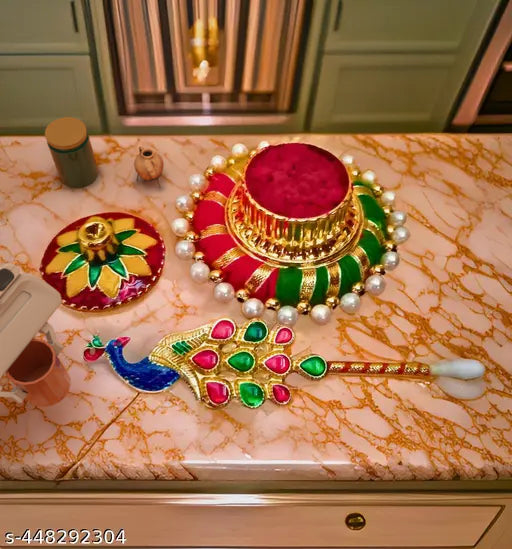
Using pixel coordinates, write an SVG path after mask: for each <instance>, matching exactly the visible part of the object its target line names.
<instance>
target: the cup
mask: <svg viewBox="0 0 512 549" xmlns="http://www.w3.org/2000/svg"><path fill="white" fill-rule="evenodd" d="M5 375H6V377H7V379H9V380H10V382H11V383H12V384H13V385H14V387H16V388H17V387H18V388H19V389H21V390H22V391H23V392H25V393H27V394H28V395H27V396H26V398H25V399H26V400H27V401H28V402H29V403H31V405H33V406H35V407H40V408H48V407H52V406H55V405H57V404H58V403H60V402H61V401H63V400H64V399H65V398H66V396H67V395H68V393H69V392H70V389H71V384H72V381H71V380H72V379H71V376H70V373H69V371H68V369H67V368H66V366H65V365H64V363H63V361H62V359H61V358H60V357H59V355H57V353H56V352H55V350H54V348H53V347H52V346H51V345H50V344H49V343H48V341H47V340H43V339H41V338H33V339H32V340H31V342H30V343H29V344H28V345H27V347H26V348H25V349H24V350H23V351H22V353H21V354H20V355H19V356H18V358H17V359H16V360H15V361H14V363H13V364H12V365H11V366H10V368H9V369H8V370H7V371H6V372H5Z"/></svg>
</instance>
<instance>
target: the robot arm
mask: <svg viewBox="0 0 512 549" xmlns="http://www.w3.org/2000/svg"><path fill="white" fill-rule="evenodd" d="M62 299H63V298H62V295H61V293H60V292H59V291H58V290H57V289H56V288H55V287H53V286H51V285H50V284H49V283H48V282H46V281H45V280H43V279H42V278H40V277H38V276H37V275H35V274H33V273H29V272H23V273H21V270H20V268H19V267H18V266H17V265H16V264H15V263H14V262H5V263H1V264H0V380H1V379H2V378H3V376H4V375H6V371H7V370H8V369H9V368H10V366H11V365H12V364H13V363H14V361H15V360H16V359H17V358H18V356H19V355H20V354H21V353H22V351H23V350H24V349H25V348H26V347H27V345H28V344H29V343H30V342H31V340H32V339H35V337H36V336H37V335H38V333H39V334H41V335H42V334H44V336H45V338H46V342H48V343H49V344H50V345H51V346H52V347H53V348H54V350H55V352H56V353H57V355H58V356H59V355H60V354H61V353H62V351H63V350H64V349H65V345H64V344H62V343H61V342H60V341H58V340H57V336H56V333H55V330H54V326H53V325H52V324H50V323H49V322H48V321H49V319H50V318H51V317H52V316H53V315H54V313H55V312H56V311H57V310H58V308H59V307H60V306H61V305H62V303H63V300H62ZM27 395H28V394H27V393H25V392H23V391H22V390H21V389H19V388H18V387H16V386H13V388H12V389H11V390H10V391H9V390H8V391H6V390H3V386H2V385H0V397H1V398H10V399H11V400H13V401H14V402H15V403H17V404H22V403H23V402H24V401H25V399H26V396H27Z"/></svg>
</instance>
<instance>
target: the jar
mask: <svg viewBox="0 0 512 549" xmlns="http://www.w3.org/2000/svg"><path fill="white" fill-rule="evenodd" d="M44 137H45V139H46V143H47V147H48V149H49V152H50V155H51V158H52V161H53V163H54V166H55V169H56V171H57V174H58V177H59V179H60V181H61V183H62V184H63V185H64V186H66V187H68V188H72V189H81V188H86V187H88V186H90V185H92V184H93V183H95V181H96V180H97V178H98V176H99V173H100V172H99V167H98V163H97V160H96V156H95V153H94V150H93V145H92V142H91V139H90V135H89V132H88V130H87V126H86V125H85V123H84V122H83V121H82V120H80V119H78V118H77V117H72V116H70V117H69V116H64V117H60V118H57V119H55V120H53V121H52V122H50V123H49V124H48V125H47V126H46V128H45V130H44Z"/></svg>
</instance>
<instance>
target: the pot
mask: <svg viewBox="0 0 512 549" xmlns="http://www.w3.org/2000/svg"><path fill="white" fill-rule="evenodd" d="M138 151H139V154H137V155H136V157H135V159H134V161H133V167H134V170H135V173H136V174H137V176H136V182H139V178H140V179H142V180H143V181H144V183H145V182H154V181H157V184H158V187H159V188H161V184H160V181H159V178H161V176H162V174H163V170H164V167H165V165H164V159H163V157H162V156H161V155H160V154H159V153H158V152H156V151H154V150H153V149H151V148H149V147H147V148H144V147H143V146H139V147H138Z"/></svg>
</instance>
